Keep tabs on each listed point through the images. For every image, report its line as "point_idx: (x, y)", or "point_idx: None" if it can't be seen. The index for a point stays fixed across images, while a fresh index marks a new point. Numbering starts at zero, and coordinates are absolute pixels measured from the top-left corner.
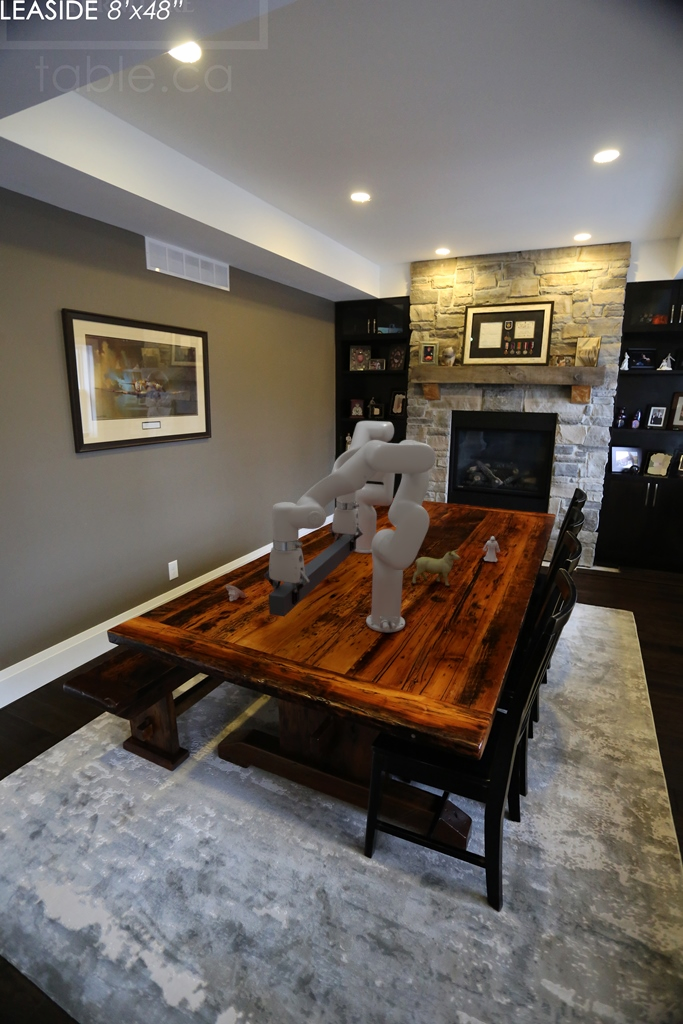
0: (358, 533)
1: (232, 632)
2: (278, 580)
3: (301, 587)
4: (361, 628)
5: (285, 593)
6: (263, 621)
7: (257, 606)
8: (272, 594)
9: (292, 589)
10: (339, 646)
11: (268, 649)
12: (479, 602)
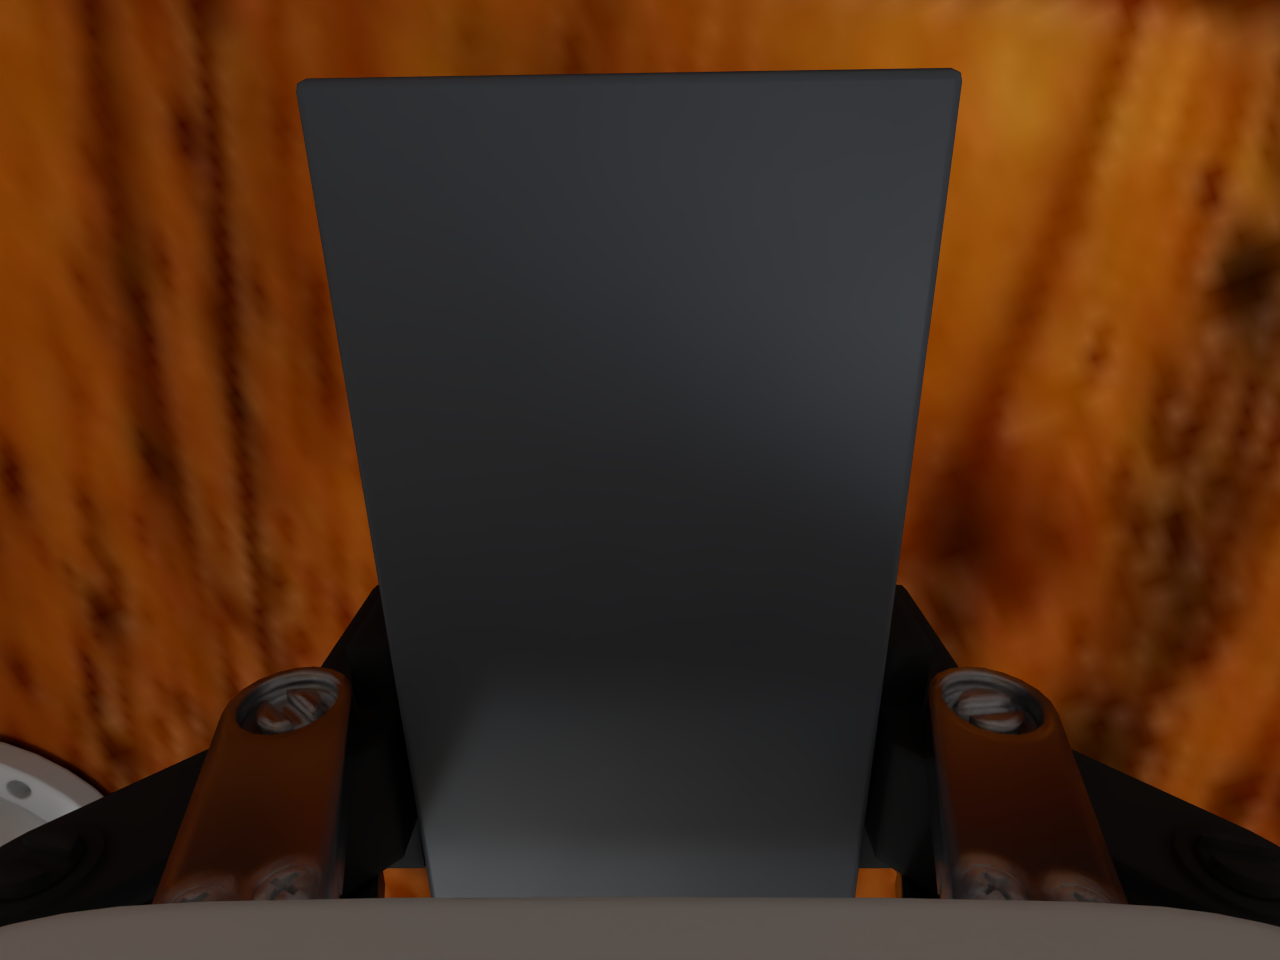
0: None
1: (1229, 237)
2: (909, 899)
3: (43, 829)
4: (115, 736)
5: (435, 418)
6: (980, 560)
7: (1136, 778)
8: (832, 155)
9: (409, 740)
10: (81, 391)
11: (691, 35)
12: None
